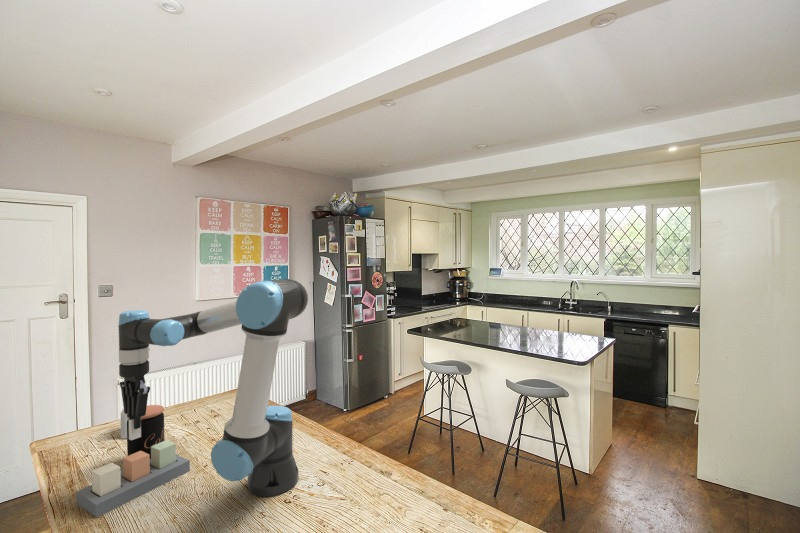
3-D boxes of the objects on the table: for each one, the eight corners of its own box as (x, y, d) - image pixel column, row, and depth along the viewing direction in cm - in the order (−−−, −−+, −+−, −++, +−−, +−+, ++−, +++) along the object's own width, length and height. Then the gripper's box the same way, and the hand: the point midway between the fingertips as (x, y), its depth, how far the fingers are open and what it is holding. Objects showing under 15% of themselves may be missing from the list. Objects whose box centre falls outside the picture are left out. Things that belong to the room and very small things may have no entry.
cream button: (120, 487, 112) (120, 466, 112) (100, 496, 107) (100, 475, 107) (112, 482, 114) (111, 462, 114) (92, 491, 110) (91, 470, 110)
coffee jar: (146, 473, 125) (145, 418, 124) (119, 469, 127) (118, 415, 127) (172, 456, 135) (171, 405, 135) (146, 453, 137) (145, 403, 137)
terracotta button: (149, 473, 119) (149, 454, 118) (132, 481, 114) (131, 462, 114) (141, 469, 121) (140, 450, 121) (123, 477, 117) (123, 457, 117)
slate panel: (189, 470, 126) (189, 460, 126) (96, 517, 103) (96, 504, 103) (168, 461, 132) (168, 451, 132) (76, 503, 109) (75, 491, 109)
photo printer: (131, 428, 158) (130, 398, 158) (143, 427, 159) (142, 397, 158) (119, 439, 148) (118, 408, 148) (131, 438, 149) (131, 407, 148)
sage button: (175, 461, 126) (175, 443, 125) (159, 469, 121) (159, 450, 121) (167, 457, 128) (166, 440, 128) (151, 464, 124) (150, 446, 124)
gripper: (159, 361, 117) (159, 438, 118) (136, 355, 123) (137, 428, 124) (132, 368, 110) (132, 448, 111) (109, 361, 117) (110, 437, 117)
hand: (135, 437), depth 118 cm, fingers closed
